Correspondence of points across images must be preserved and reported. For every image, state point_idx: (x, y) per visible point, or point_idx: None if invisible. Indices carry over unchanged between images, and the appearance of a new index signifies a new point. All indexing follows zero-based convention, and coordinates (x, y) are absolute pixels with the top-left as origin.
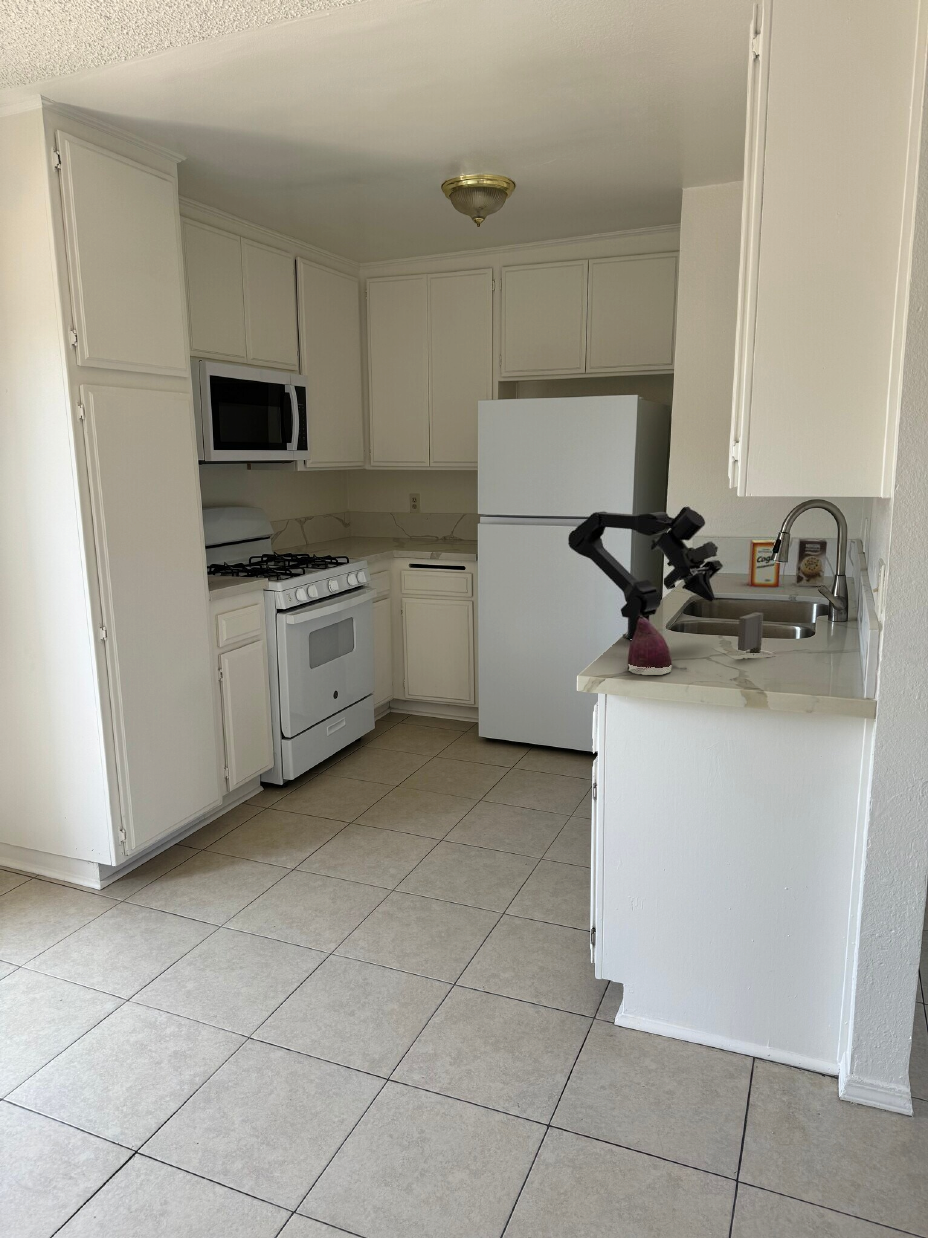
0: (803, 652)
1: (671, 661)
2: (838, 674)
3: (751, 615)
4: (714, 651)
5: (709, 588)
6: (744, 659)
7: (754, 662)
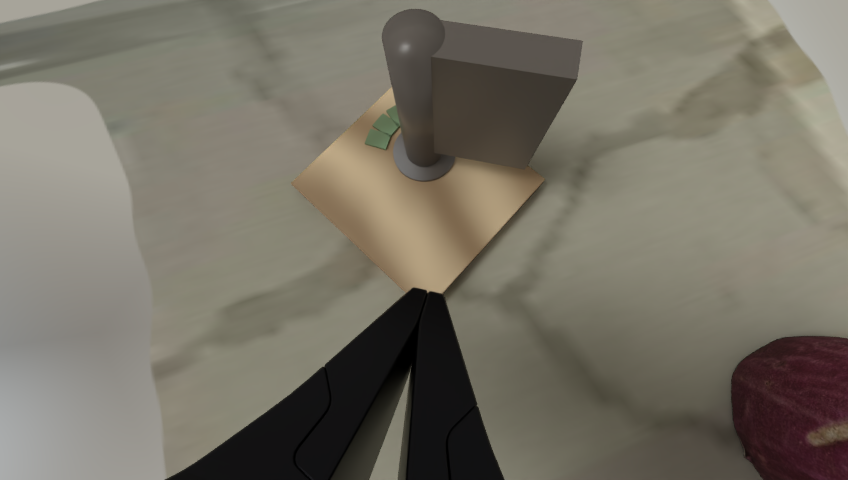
0: (278, 69)
1: (817, 344)
2: None
3: (483, 43)
4: None
5: (389, 367)
6: None
7: None
